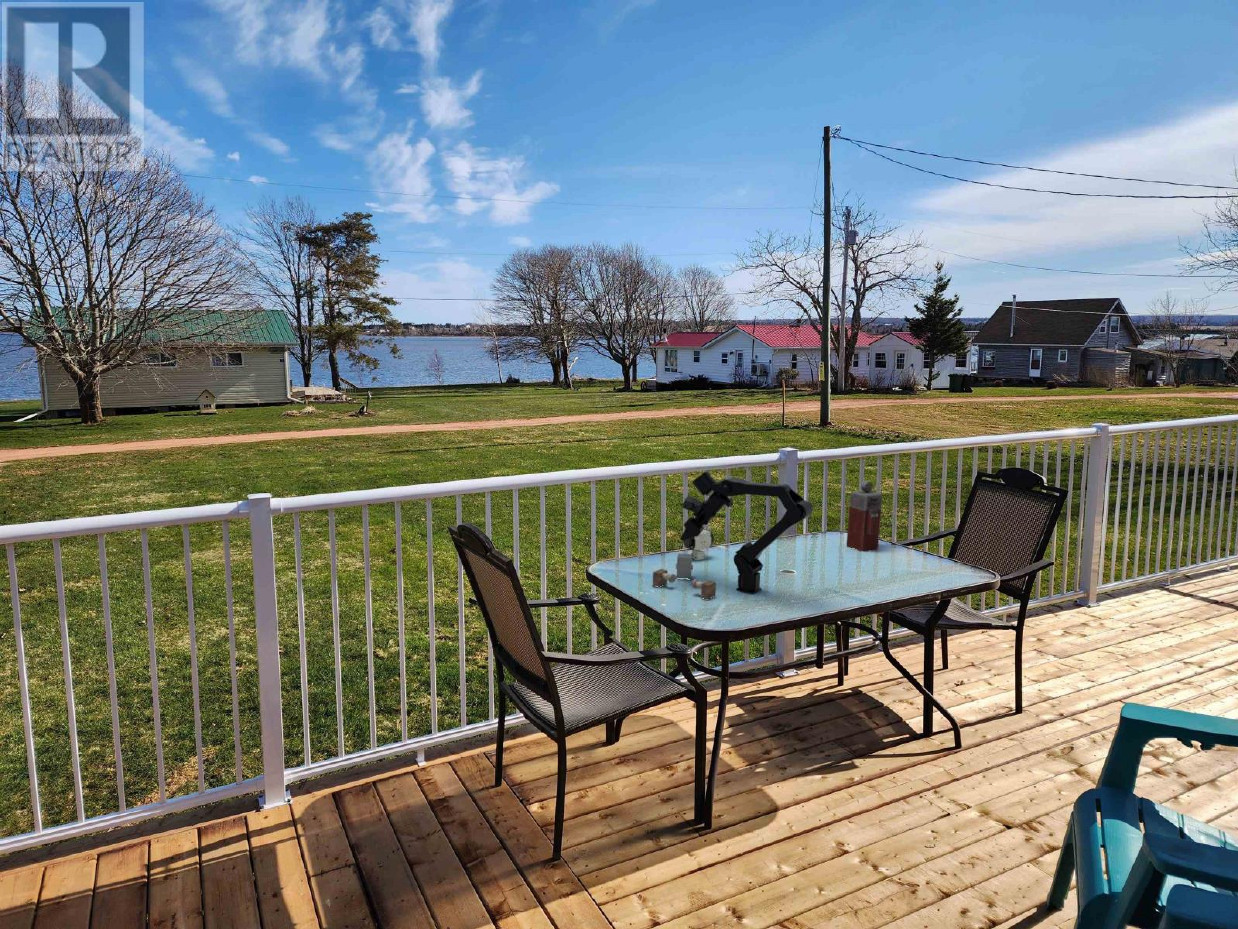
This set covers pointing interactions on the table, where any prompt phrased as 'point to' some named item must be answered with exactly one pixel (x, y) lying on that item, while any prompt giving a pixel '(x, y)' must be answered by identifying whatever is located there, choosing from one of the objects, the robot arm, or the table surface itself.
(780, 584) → the table surface
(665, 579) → the shaft stand
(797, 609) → the table surface
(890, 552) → the table surface
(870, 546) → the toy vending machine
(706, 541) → the pneumatic valve
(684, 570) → the coupling block
